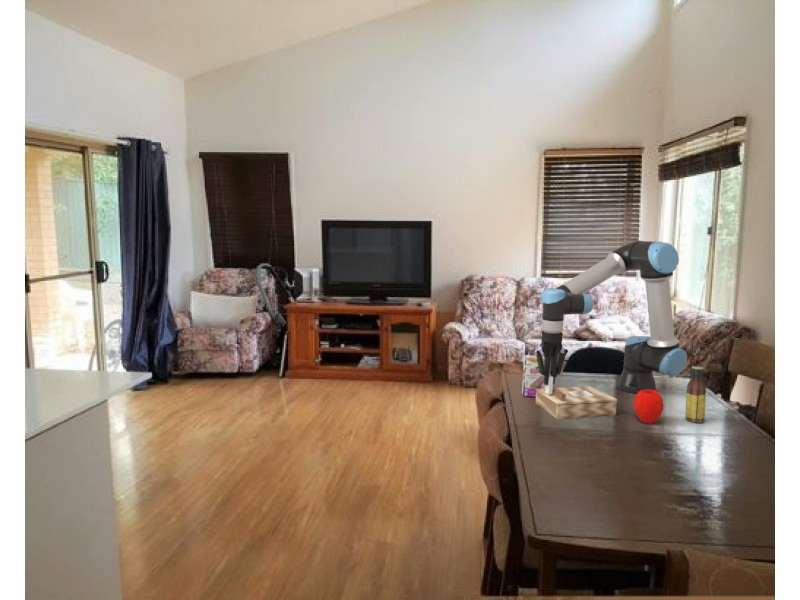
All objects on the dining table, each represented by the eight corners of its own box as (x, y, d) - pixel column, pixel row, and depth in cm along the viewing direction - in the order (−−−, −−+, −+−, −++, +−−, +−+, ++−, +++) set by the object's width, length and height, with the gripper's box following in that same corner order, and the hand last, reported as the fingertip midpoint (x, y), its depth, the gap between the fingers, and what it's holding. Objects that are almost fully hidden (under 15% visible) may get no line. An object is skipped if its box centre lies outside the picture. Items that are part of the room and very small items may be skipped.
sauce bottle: (702, 419, 211) (707, 366, 208) (705, 424, 205) (710, 370, 202) (682, 416, 213) (687, 364, 210) (685, 422, 207) (690, 368, 204)
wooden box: (590, 400, 230) (591, 388, 229) (615, 415, 213) (616, 402, 212) (535, 404, 224) (536, 391, 223) (557, 418, 208) (557, 405, 207)
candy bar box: (522, 397, 232) (524, 357, 230) (521, 393, 237) (523, 354, 235) (551, 398, 231) (553, 359, 229) (549, 395, 236) (551, 356, 234)
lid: (591, 388, 229) (592, 380, 228) (616, 401, 212) (617, 392, 212) (536, 390, 223) (536, 382, 223) (557, 404, 207) (558, 396, 206)
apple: (639, 415, 213) (642, 383, 212) (666, 422, 207) (669, 389, 205) (627, 421, 207) (630, 388, 205) (655, 428, 200) (658, 395, 198)
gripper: (563, 328, 217) (559, 389, 220) (531, 329, 214) (528, 391, 217) (573, 332, 210) (569, 395, 213) (540, 333, 207) (537, 397, 210)
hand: (548, 392), depth 215 cm, fingers closed
